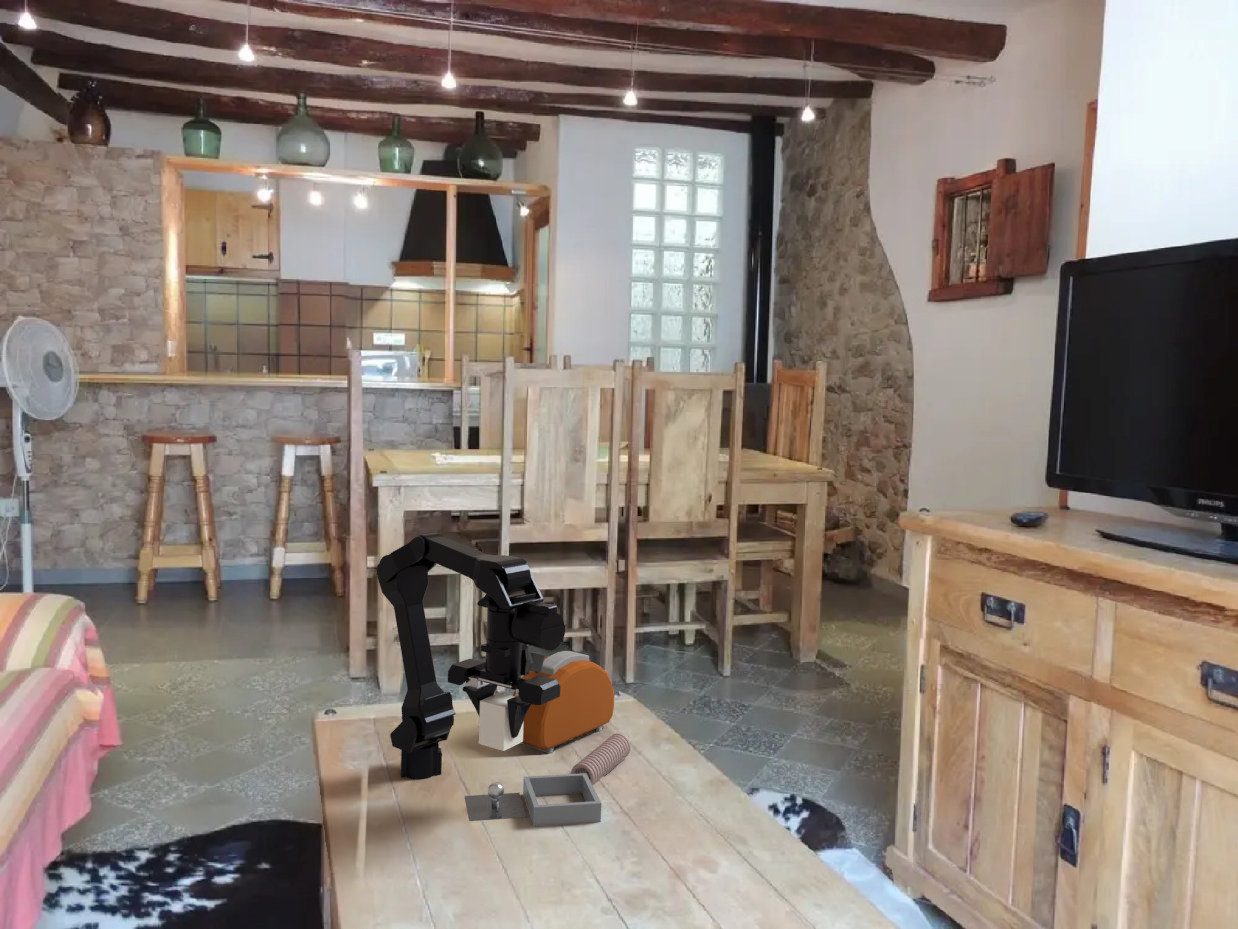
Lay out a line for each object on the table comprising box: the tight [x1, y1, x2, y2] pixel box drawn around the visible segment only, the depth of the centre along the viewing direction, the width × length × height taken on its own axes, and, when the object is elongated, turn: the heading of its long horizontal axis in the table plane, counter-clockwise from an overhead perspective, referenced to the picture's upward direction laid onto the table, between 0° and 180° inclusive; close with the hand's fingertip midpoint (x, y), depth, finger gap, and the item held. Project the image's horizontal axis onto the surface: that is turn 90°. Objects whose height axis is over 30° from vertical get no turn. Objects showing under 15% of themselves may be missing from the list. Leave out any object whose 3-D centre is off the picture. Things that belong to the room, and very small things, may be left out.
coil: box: [570, 732, 632, 786], centre depth 170 cm, size 5×5×18 cm
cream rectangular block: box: [478, 692, 524, 752], centre depth 151 cm, size 5×5×7 cm
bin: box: [522, 773, 602, 827], centre depth 153 cm, size 11×12×4 cm
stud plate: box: [464, 781, 528, 822], centre depth 152 cm, size 9×9×5 cm
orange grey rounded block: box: [512, 650, 615, 754], centre depth 186 cm, size 23×9×17 cm, turn 144°
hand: (501, 733), depth 151 cm, fingers closed on cream rectangular block, 5 cm apart
